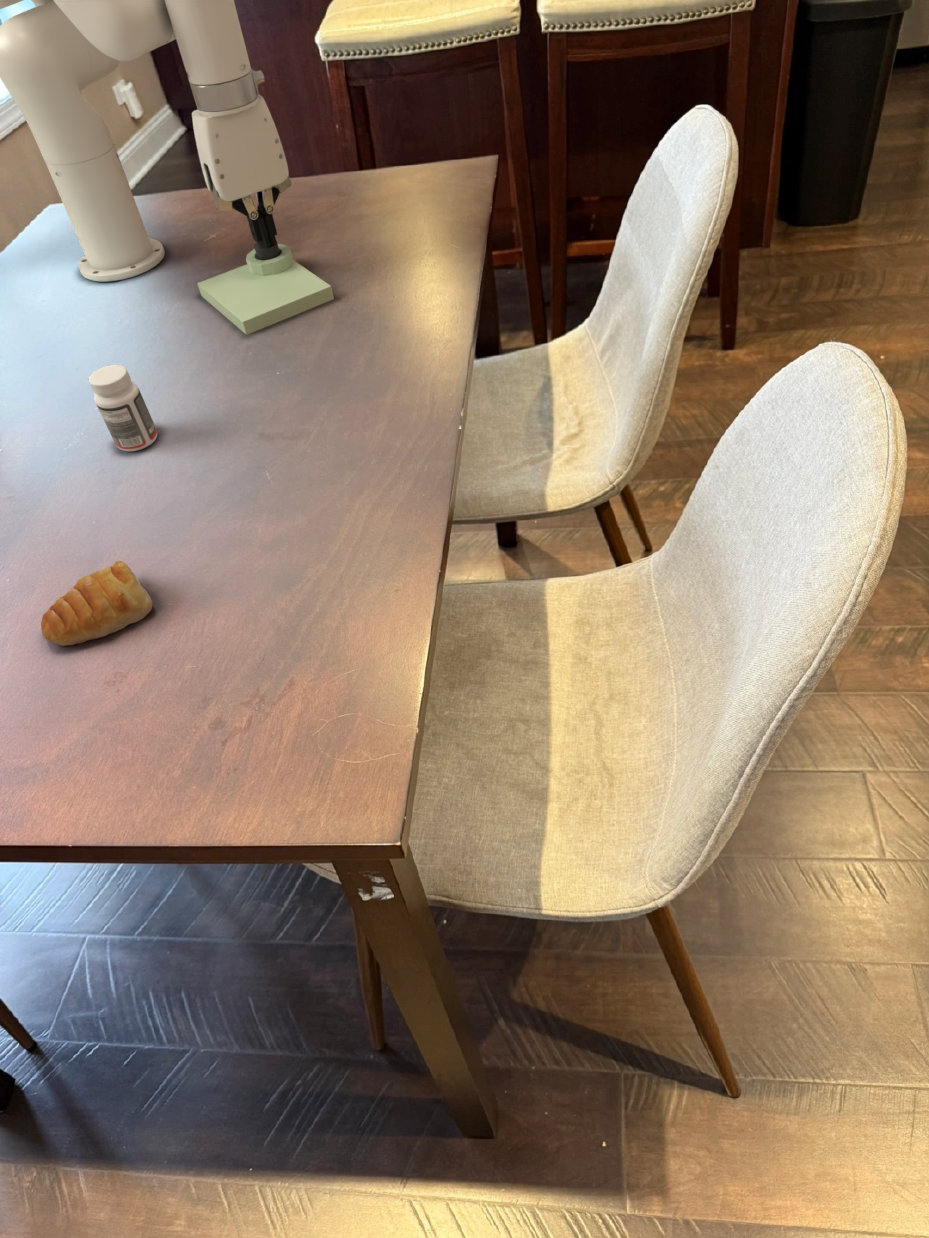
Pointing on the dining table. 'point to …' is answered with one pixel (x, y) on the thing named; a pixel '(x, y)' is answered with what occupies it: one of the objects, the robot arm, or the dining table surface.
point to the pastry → (97, 606)
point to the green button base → (265, 291)
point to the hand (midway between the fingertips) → (267, 243)
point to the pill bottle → (122, 408)
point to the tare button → (266, 252)
